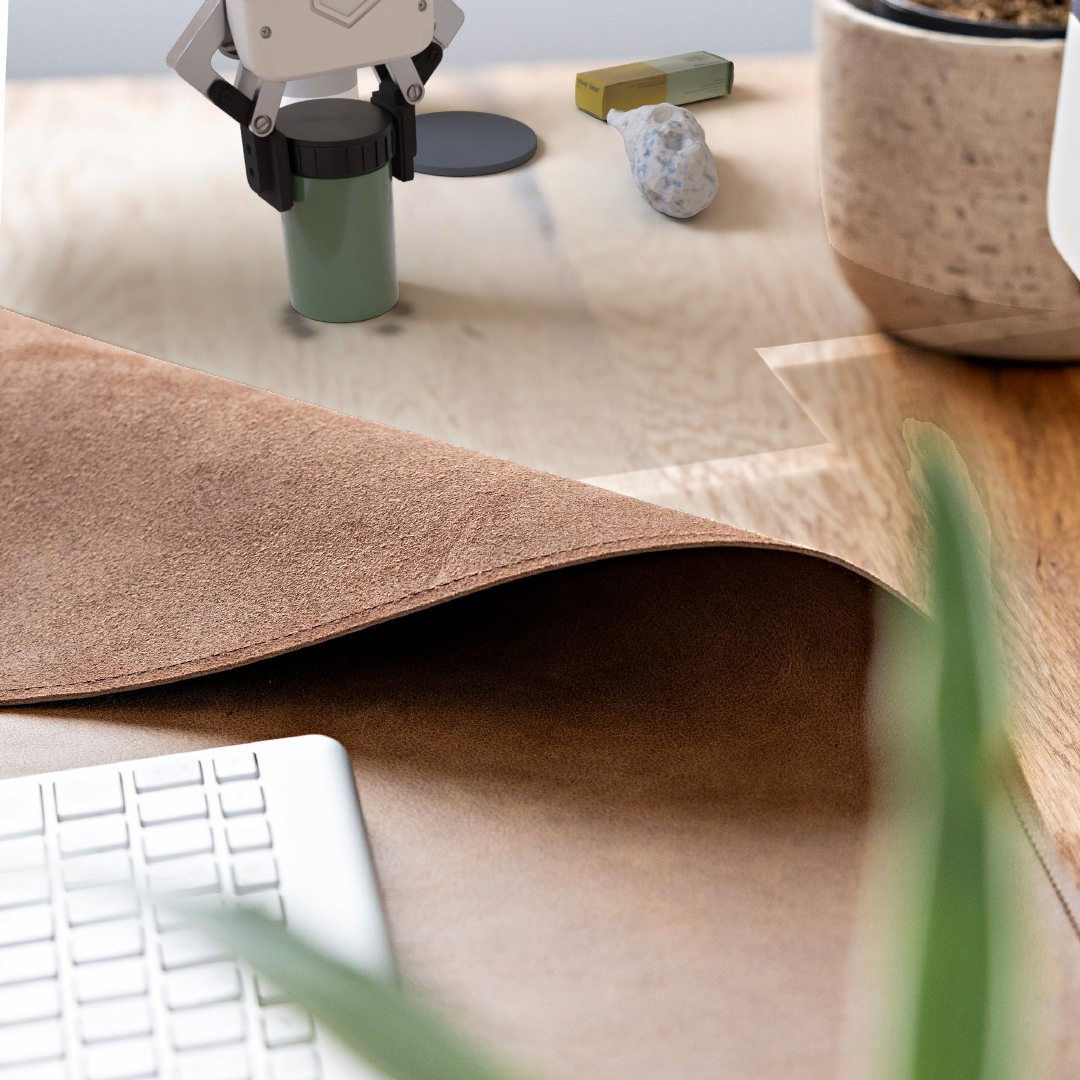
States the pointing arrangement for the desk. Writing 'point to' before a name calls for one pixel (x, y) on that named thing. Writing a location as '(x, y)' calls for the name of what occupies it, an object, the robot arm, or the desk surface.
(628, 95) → the medication box
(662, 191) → the decorative stone
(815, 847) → the desk surface
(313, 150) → the jar lid
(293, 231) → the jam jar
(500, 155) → the coaster
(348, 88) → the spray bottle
